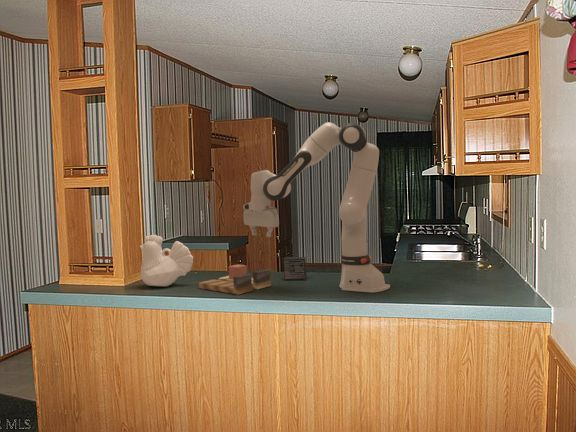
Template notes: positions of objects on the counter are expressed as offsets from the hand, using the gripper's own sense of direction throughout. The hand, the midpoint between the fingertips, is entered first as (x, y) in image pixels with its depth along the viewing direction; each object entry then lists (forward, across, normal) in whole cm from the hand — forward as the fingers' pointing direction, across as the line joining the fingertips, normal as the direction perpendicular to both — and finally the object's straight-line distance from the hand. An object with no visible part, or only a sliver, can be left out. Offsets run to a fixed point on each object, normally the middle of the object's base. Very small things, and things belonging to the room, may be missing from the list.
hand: (261, 236), depth 254 cm
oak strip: (+24, +10, +14) cm, 29 cm away
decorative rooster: (+25, +40, +24) cm, 53 cm away
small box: (+23, 0, -22) cm, 32 cm away
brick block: (+21, +15, +2) cm, 26 cm away
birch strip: (+24, +11, +2) cm, 26 cm away
